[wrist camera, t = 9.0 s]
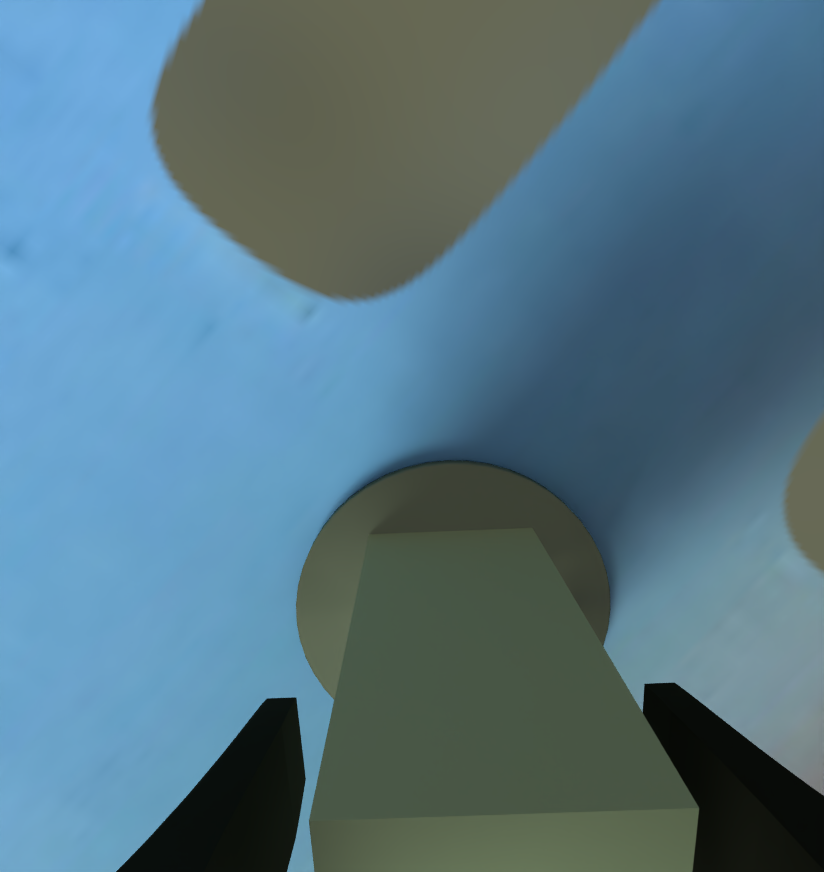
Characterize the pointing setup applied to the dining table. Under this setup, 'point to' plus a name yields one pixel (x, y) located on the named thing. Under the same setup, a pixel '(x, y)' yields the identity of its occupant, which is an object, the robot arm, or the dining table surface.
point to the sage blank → (487, 725)
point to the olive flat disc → (433, 512)
